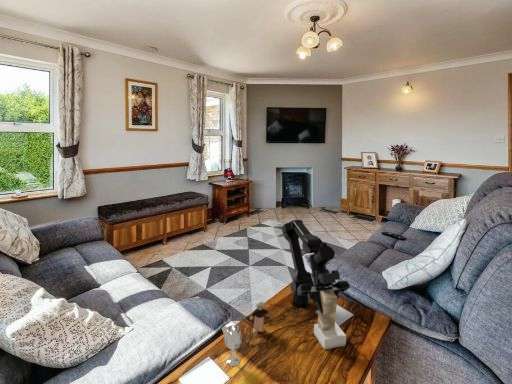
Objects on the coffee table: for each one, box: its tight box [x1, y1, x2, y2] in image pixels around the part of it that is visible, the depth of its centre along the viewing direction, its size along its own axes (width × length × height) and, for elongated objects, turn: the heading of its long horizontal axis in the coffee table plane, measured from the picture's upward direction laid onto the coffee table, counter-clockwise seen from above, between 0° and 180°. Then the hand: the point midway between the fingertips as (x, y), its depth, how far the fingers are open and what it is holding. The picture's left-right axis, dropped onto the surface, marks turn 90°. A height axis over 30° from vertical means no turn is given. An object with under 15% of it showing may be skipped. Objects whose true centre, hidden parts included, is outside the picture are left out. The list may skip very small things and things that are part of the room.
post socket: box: [313, 321, 347, 350], centre depth 107 cm, size 9×9×4 cm
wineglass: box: [224, 324, 243, 367], centre depth 95 cm, size 6×6×12 cm
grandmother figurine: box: [249, 300, 270, 334], centre depth 111 cm, size 8×4×13 cm, turn 117°
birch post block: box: [317, 290, 338, 331], centre depth 103 cm, size 4×4×13 cm
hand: (328, 312), depth 102 cm, fingers closed on birch post block, 4 cm apart
